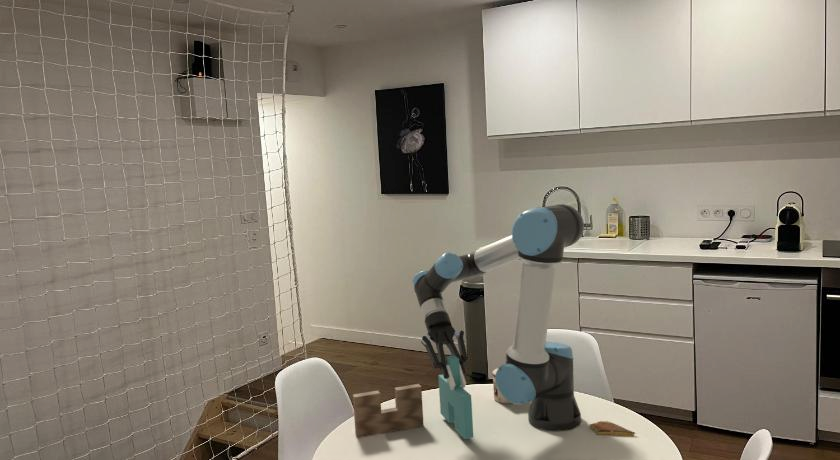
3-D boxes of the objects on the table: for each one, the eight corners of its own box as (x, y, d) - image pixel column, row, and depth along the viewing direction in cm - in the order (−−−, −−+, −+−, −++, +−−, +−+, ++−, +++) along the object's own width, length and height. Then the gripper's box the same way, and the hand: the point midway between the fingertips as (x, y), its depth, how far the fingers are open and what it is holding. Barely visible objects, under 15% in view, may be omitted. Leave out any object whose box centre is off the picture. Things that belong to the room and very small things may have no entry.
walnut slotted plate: (421, 422, 188) (418, 383, 186) (423, 425, 185) (421, 386, 184) (355, 434, 182) (352, 394, 181) (357, 437, 179) (354, 397, 178)
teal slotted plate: (440, 413, 190) (436, 349, 188) (448, 412, 191) (444, 348, 189) (464, 439, 171) (461, 368, 169) (473, 437, 172) (469, 366, 170)
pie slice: (635, 437, 171) (635, 431, 170) (615, 445, 167) (615, 438, 167) (606, 424, 180) (605, 418, 180) (586, 431, 176) (586, 425, 176)
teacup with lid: (494, 393, 208) (492, 359, 207) (522, 394, 206) (520, 359, 205) (491, 407, 196) (490, 371, 195) (521, 408, 195) (519, 371, 193)
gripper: (457, 320, 195) (481, 388, 181) (409, 326, 191) (430, 397, 177) (462, 306, 190) (487, 376, 176) (413, 313, 185) (435, 385, 171)
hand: (458, 386), depth 176 cm, fingers closed on teal slotted plate, 2 cm apart
